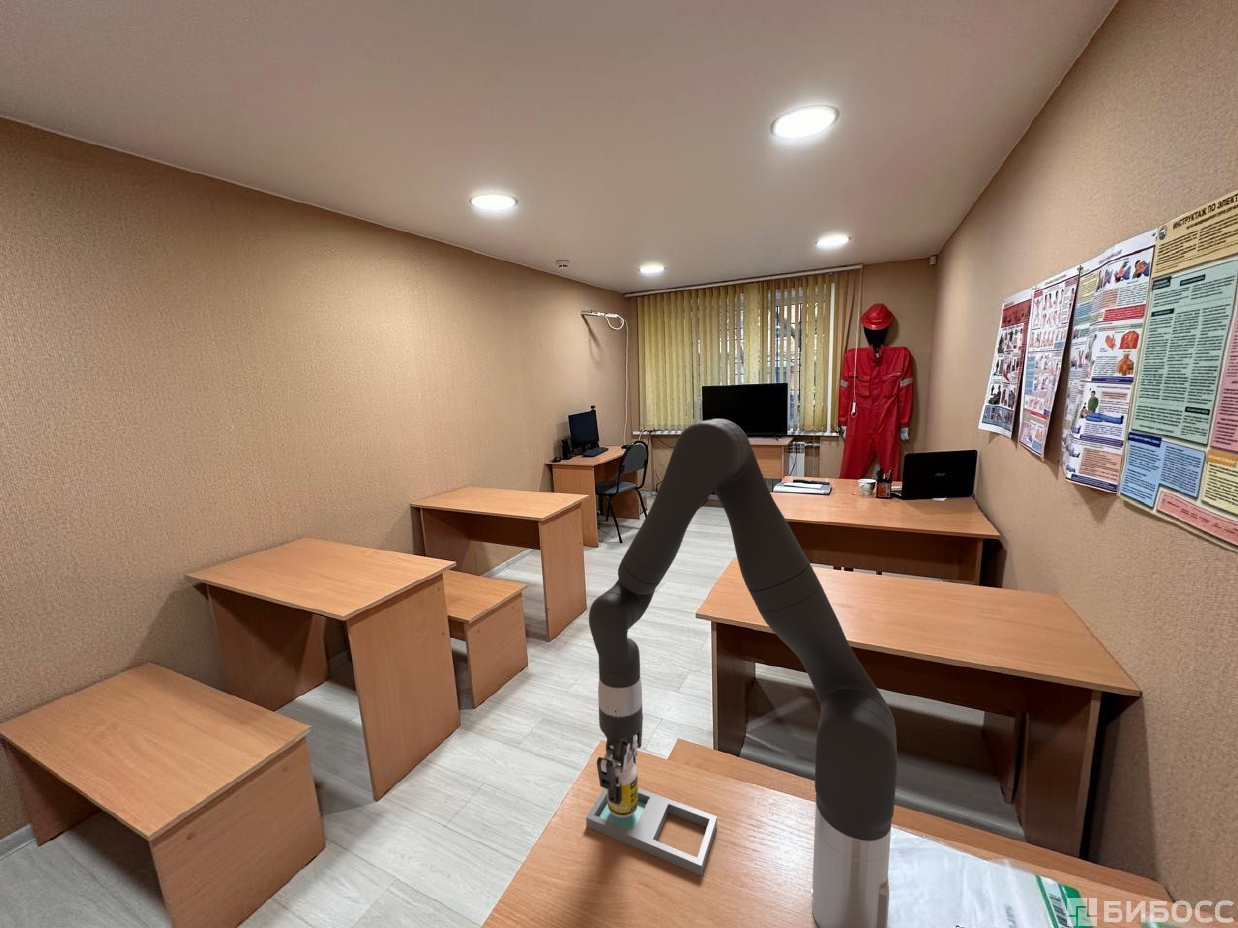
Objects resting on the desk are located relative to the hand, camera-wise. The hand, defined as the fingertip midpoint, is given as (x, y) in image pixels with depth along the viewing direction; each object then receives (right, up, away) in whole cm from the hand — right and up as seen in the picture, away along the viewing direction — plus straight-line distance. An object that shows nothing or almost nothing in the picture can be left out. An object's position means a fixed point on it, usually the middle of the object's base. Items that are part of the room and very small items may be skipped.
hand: (622, 787), depth 83 cm
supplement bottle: (0, -4, +1) cm, 4 cm away
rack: (+5, -5, -2) cm, 8 cm away
